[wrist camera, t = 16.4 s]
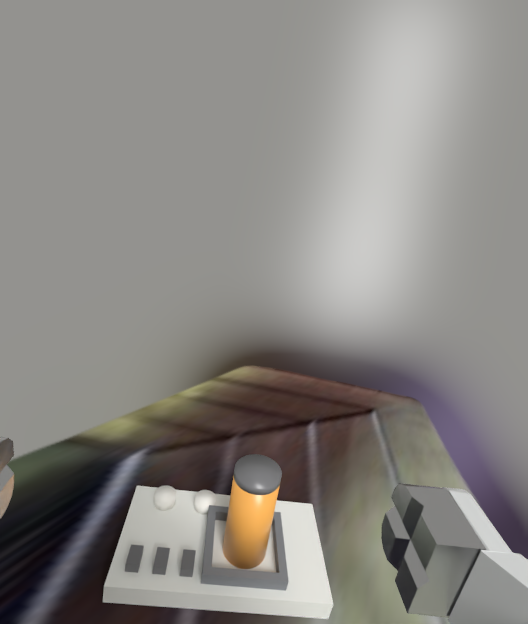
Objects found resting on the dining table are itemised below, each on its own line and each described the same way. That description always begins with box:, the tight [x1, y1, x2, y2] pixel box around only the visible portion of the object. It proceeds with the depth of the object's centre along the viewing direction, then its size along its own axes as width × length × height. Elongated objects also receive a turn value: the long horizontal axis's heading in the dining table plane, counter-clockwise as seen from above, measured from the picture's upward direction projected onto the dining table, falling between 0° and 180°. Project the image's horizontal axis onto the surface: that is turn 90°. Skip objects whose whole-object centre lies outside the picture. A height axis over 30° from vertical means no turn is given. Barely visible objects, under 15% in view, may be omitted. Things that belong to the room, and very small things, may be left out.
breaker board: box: [103, 486, 333, 619], centre depth 42 cm, size 21×12×3 cm, turn 93°
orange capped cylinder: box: [223, 454, 282, 569], centre depth 40 cm, size 4×4×10 cm
